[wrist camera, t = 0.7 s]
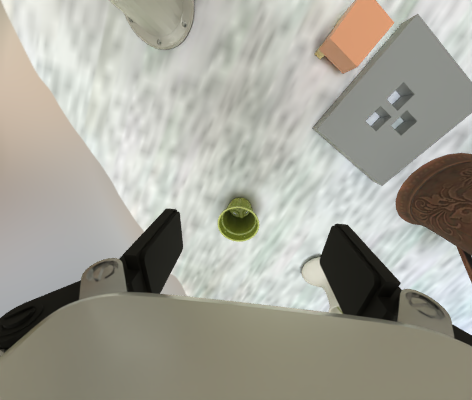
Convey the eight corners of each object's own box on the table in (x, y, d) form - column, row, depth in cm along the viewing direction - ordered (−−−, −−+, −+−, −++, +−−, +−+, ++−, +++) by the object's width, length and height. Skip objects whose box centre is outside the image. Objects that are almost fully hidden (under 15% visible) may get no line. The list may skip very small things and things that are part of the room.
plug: (313, 54, 31) (329, 38, 25) (340, 16, 29) (365, -12, 22) (336, 76, 32) (357, 66, 26) (364, 42, 30) (394, 22, 24)
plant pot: (234, 184, 43) (231, 199, 36) (264, 203, 45) (267, 221, 37) (216, 210, 47) (210, 229, 39) (244, 227, 49) (243, 247, 41)
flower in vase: (293, 273, 55) (323, 379, 33) (312, 248, 50) (361, 353, 28) (329, 285, 56) (381, 395, 34) (350, 262, 51) (428, 373, 29)
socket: (312, 128, 36) (317, 129, 34) (401, 23, 29) (417, 13, 26) (373, 181, 40) (382, 185, 38) (467, 102, 32) (486, 100, 30)
